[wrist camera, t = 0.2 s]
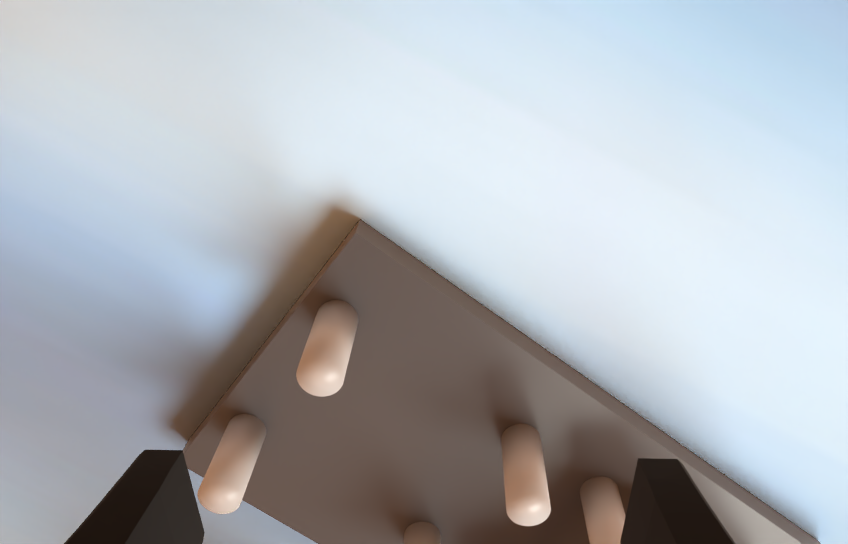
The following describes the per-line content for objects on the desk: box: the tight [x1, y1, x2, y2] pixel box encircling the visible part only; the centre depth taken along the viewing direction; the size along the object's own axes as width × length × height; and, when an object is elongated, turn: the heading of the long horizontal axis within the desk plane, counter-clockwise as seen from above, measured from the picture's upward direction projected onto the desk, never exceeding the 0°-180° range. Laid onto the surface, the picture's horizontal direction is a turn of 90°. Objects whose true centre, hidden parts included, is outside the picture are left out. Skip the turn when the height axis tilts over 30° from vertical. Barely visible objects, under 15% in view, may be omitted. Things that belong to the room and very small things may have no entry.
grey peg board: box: [183, 220, 820, 544], centre depth 24 cm, size 10×19×4 cm, turn 53°
